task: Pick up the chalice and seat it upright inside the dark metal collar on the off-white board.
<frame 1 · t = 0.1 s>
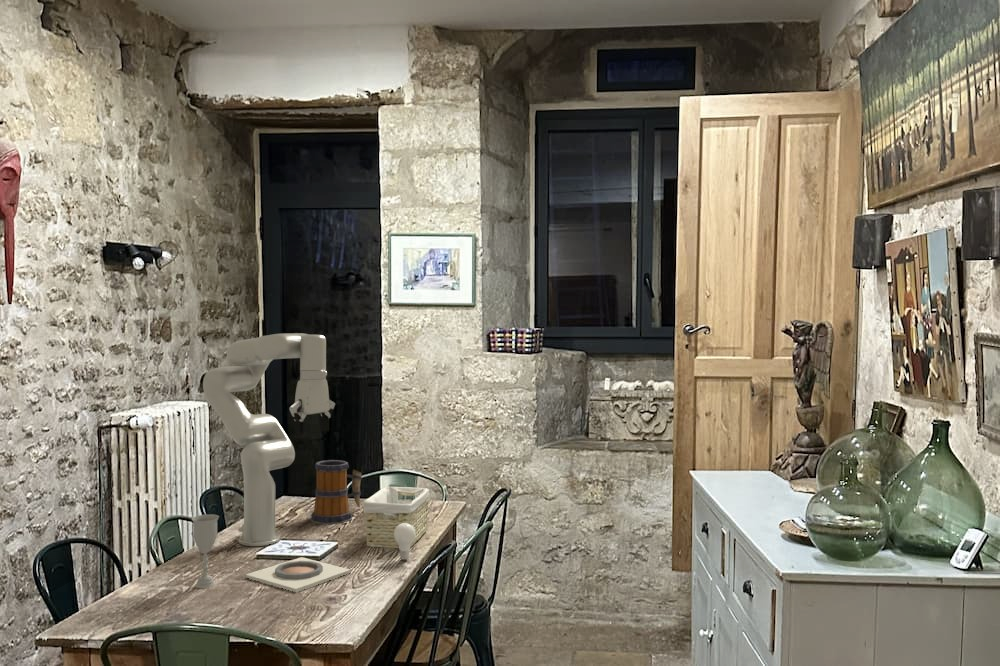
hand: (312, 432, 246), 37 cm above the table, tool pointing down, fingers open, 9 cm apart
lightbulb: (404, 561, 242), on the table
seat board: (299, 575, 227), on the table
mug: (337, 518, 291), on the table
storage basket: (397, 540, 265), on the table
chalice: (205, 585, 218), on the table
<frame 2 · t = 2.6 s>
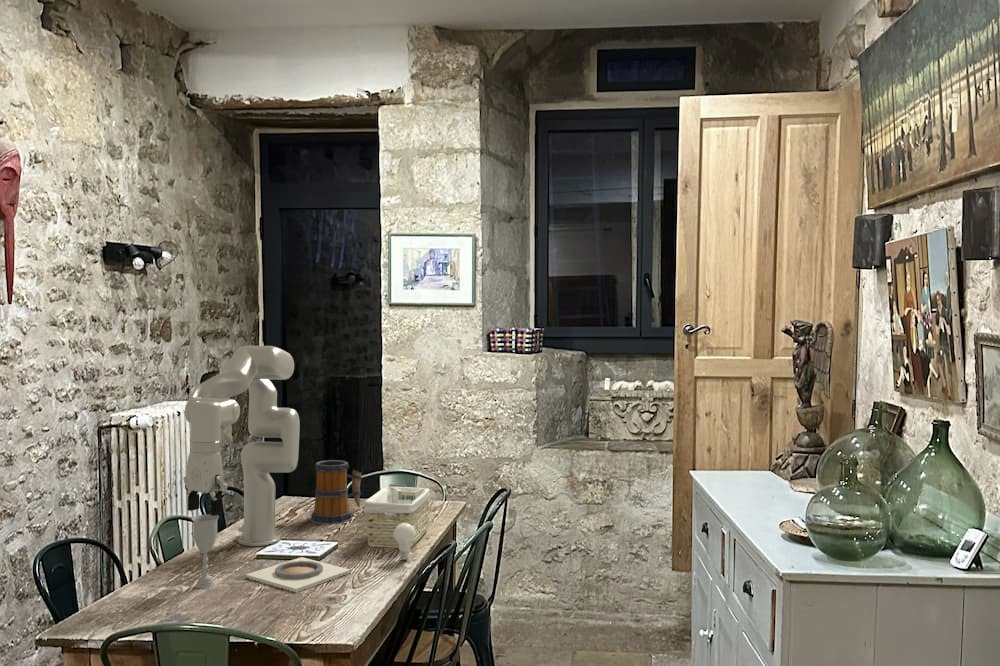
hand: (204, 512, 217), 20 cm above the table, tool pointing down, fingers open, 9 cm apart
nothing on the table moved.
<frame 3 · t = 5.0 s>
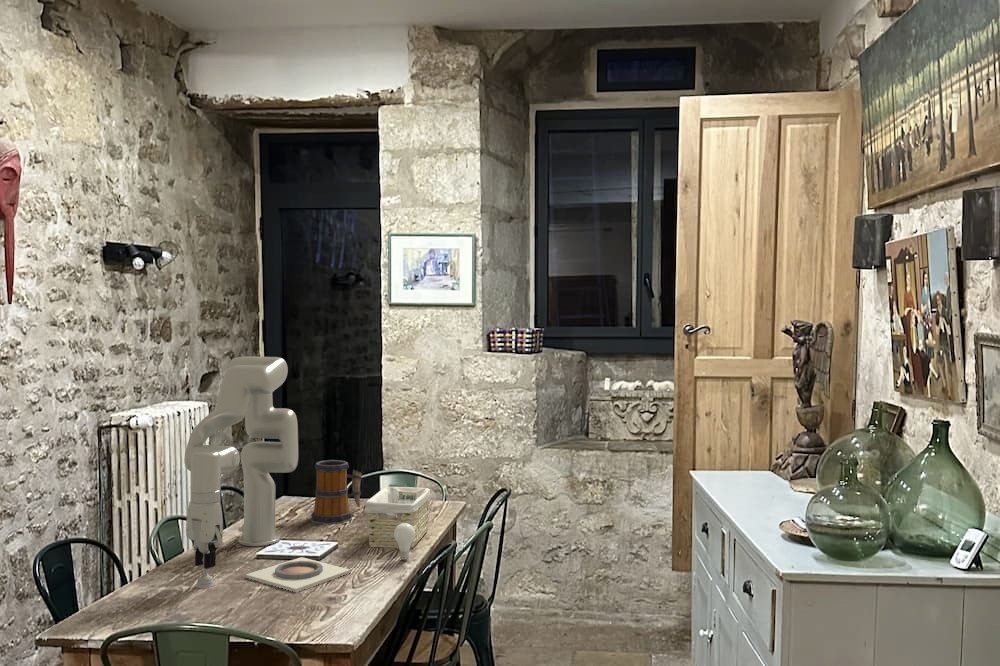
hand: (205, 565, 218), 5 cm above the table, tool pointing down, fingers closed on chalice, 3 cm apart
chalice: (205, 585, 218), on the table, touching gripper
everything else where it was.
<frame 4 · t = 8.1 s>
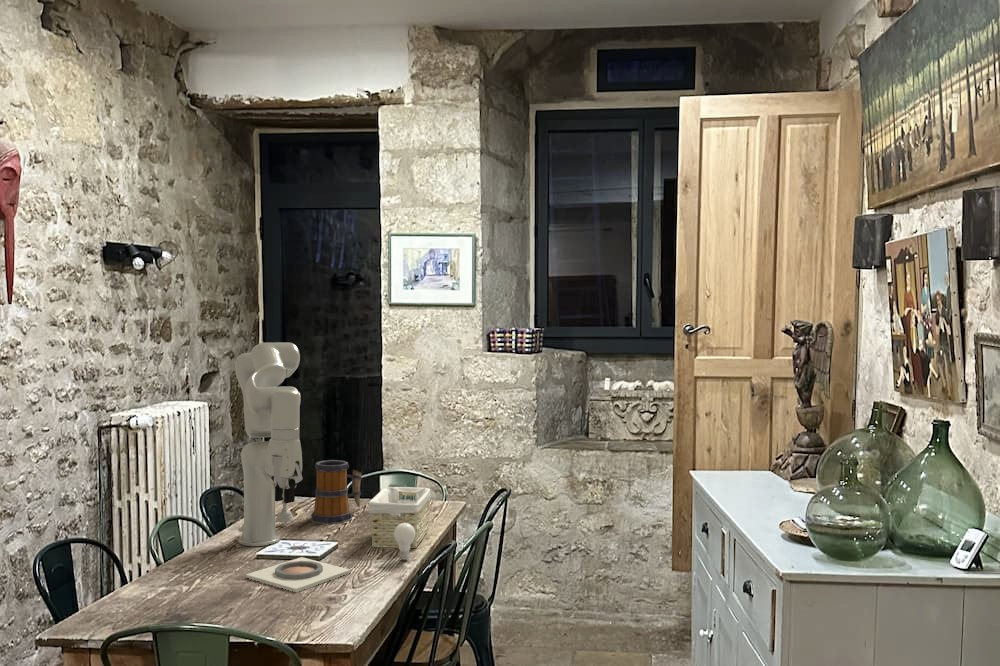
hand: (284, 500, 225), 21 cm above the table, tool pointing down, fingers closed on chalice, 3 cm apart
chalice: (284, 520, 225), point 16 cm above the table, touching gripper
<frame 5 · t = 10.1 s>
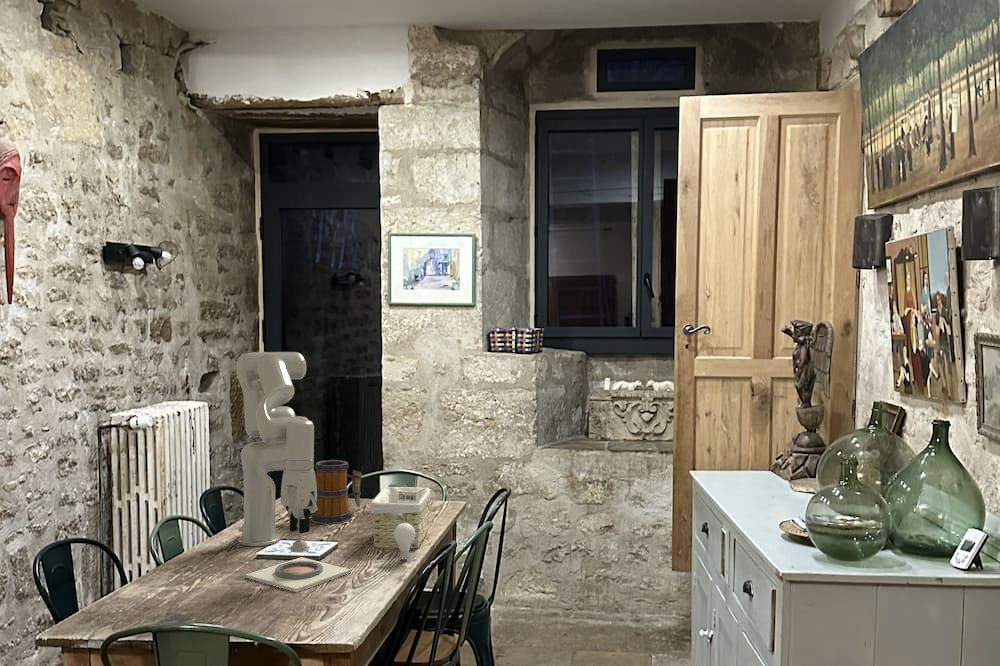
hand: (299, 530, 226), 12 cm above the table, tool pointing down, fingers closed on chalice, 3 cm apart
chalice: (299, 550, 226), point 7 cm above the table, touching gripper
when the fingers open (8 cm above the table, at t = 11.6 s): chalice drops 2 cm, point 1 cm above the table.
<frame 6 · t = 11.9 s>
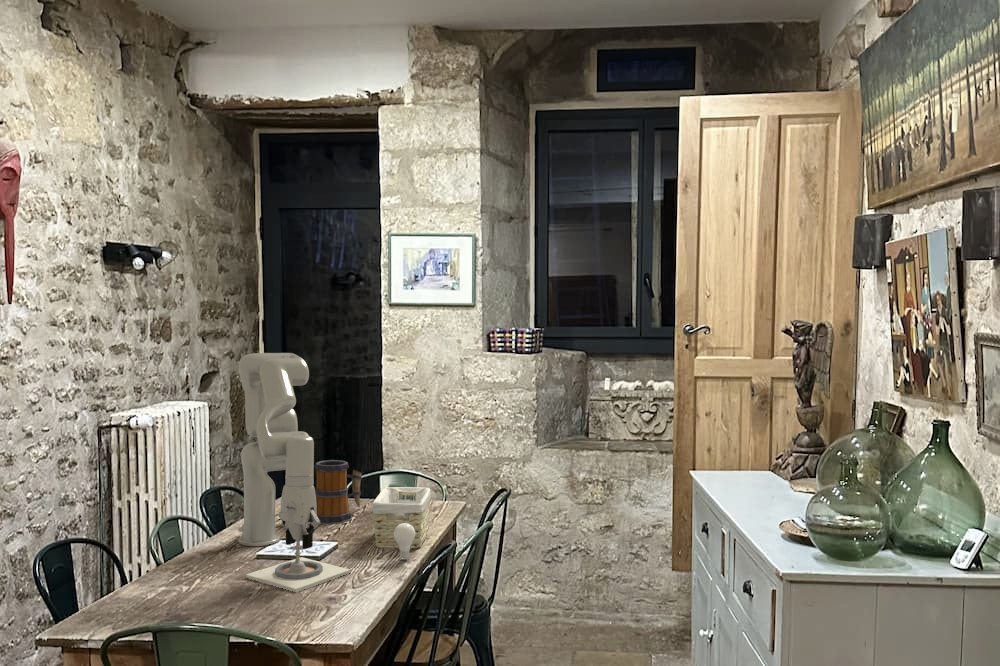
hand: (299, 545, 226), 8 cm above the table, tool pointing down, fingers open, 6 cm apart
chalice: (297, 571, 227), point 1 cm above the table, touching gripper
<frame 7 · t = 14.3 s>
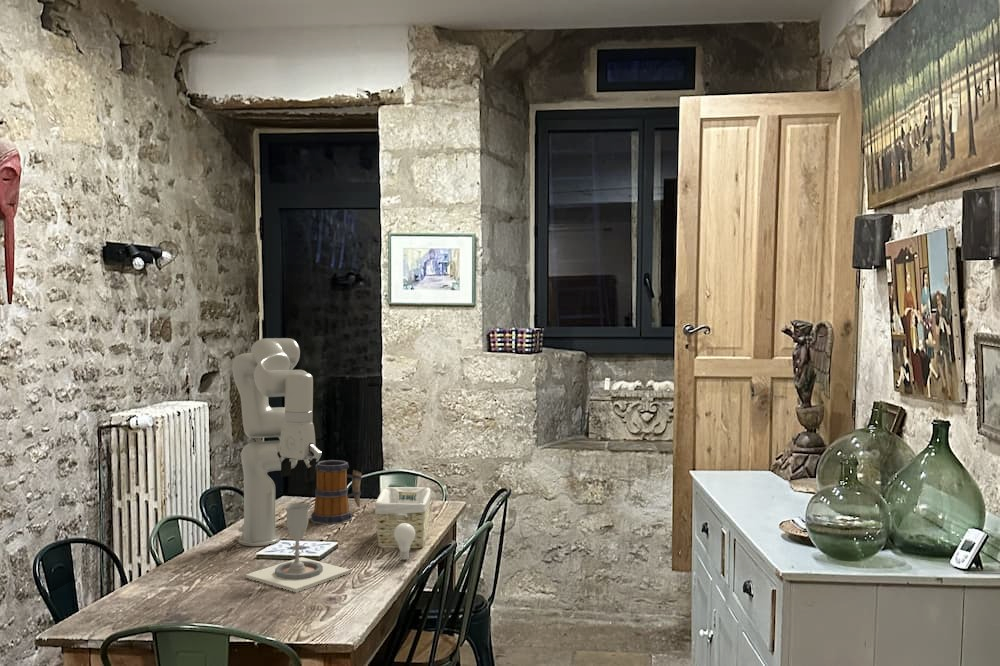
hand: (297, 478, 228), 27 cm above the table, tool pointing down, fingers open, 9 cm apart
chalice: (297, 571, 227), point 1 cm above the table, touching seat board
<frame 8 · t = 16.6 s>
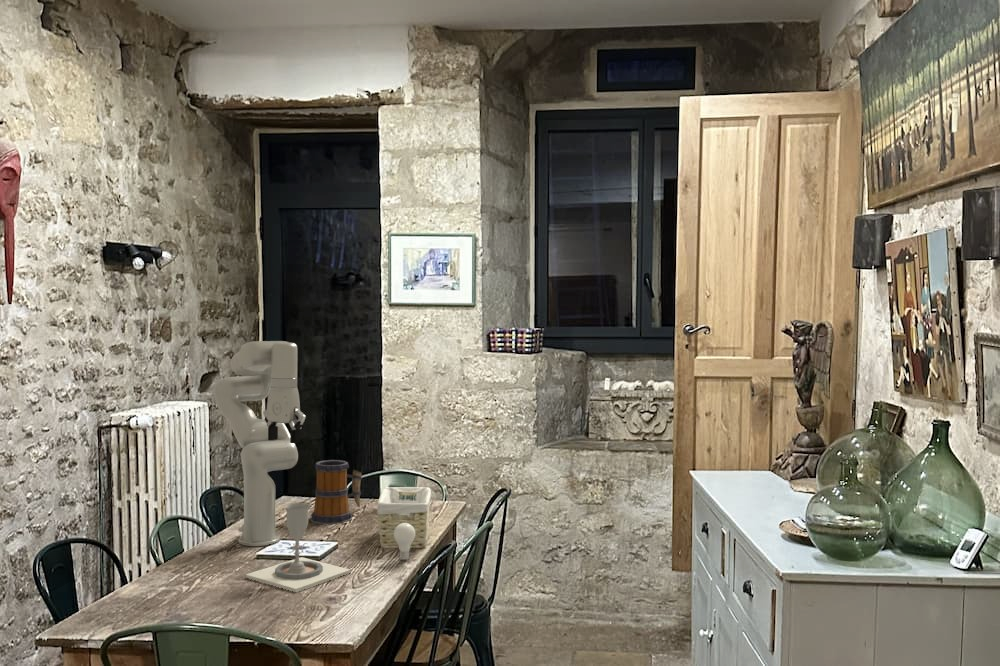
hand: (283, 441, 244), 34 cm above the table, tool pointing down, fingers open, 9 cm apart
at the end: chalice 0.8 cm off-centre on the seat board, point 1.0 cm above the seat board's base; chalice tilted 0°; the gripper is holding nothing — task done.
